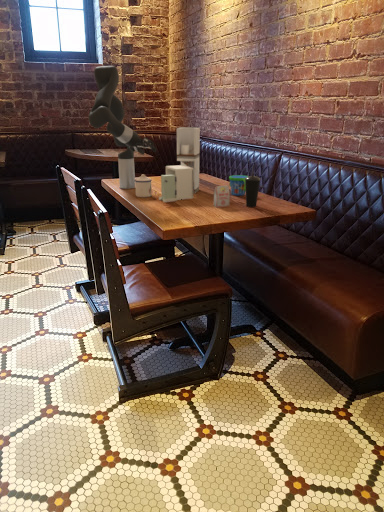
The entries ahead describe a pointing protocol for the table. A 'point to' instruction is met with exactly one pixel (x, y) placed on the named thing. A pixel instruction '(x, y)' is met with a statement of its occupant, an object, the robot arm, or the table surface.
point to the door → (168, 186)
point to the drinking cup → (252, 189)
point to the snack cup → (237, 185)
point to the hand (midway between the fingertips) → (149, 151)
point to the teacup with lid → (143, 186)
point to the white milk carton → (221, 196)
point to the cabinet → (181, 182)
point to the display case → (189, 151)
